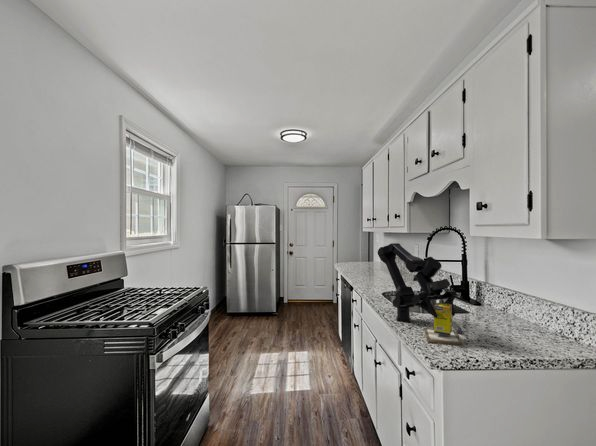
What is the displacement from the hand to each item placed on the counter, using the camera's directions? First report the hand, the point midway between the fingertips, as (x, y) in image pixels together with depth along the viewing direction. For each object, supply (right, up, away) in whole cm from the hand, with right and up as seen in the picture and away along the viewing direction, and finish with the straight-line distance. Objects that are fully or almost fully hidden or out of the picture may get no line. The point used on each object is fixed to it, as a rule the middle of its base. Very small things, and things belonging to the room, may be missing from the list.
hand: (445, 316), depth 128 cm
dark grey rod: (+11, -7, +12) cm, 18 cm away
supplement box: (0, -7, +1) cm, 7 cm away
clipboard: (-1, -9, +2) cm, 9 cm away
